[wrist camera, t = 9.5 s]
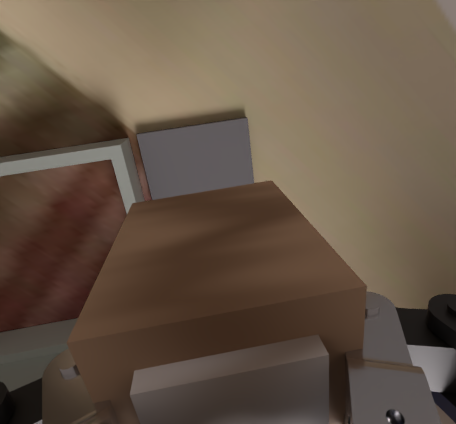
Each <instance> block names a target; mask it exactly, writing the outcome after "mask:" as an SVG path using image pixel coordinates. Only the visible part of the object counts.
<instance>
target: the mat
mask: <svg viewBox="0 0 456 424" xmlns="http://www.w3.org/2000/svg"><path fill="white" fill-rule="evenodd" d="M137 139H138V143H139V147H140V151H141V155H142V159H143V164H144V168H145V172H146V176H147V180H148V184H149V188H150V192H151V196H152V200H155V199H161V198H168V197H174V196H180V195H186V194H192V193H198V192H204V191H210V190H216V189H223V188H229V187H235V186H241V185H247V184H253V183H254V177H253V168H252V158H251V148H250V138H249V129H248V119H247V118H246V117H245V118H238V119H231V120H225V121H218V122H211V123H205V124H198V125H191V126H185V127H178V128H171V129H165V130H158V131H151V132H145V133H138V134H137Z"/></svg>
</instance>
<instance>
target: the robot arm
mask: <svg viewBox="0 0 456 424" xmlns="http://www.w3.org/2000/svg"><path fill="white" fill-rule="evenodd" d="M345 384H346V395H345V414H344V417H343V424H456V295H454V294H442V295H437V296H435V297H433V298H431V299H430V301H429V304H428V310H426V309H405V308H396V307H395V306H394V304H393V303H392V302H391V301H390V300H389V299H387V298H386V297H384V296H382V295H380V294H377V293H373V292H368V291H366V307H365V324H364V341H363V348H362V349H357V350H352V351H347V352H345ZM0 424H119V422H118V418H117V414H116V412H115V410H114V407H113V405H112V402H111V400H106V401H101V402H96V403H93V401H92V399H91V397H90V394H89V392H88V390H87V388H86V386H85V383H84V381H83V379H82V377H81V374H80V372H79V370H78V368H77V365H76V363H75V361H74V359H73V357H72V354H71V352H70V350H69V348H68V349H66V350H65V351H63V352H61V353H60V354H59V355H57V356H56V357H55V358H54V359H53V360H52V361H51V362H50V363H49V364H48V366H47V367H46V369H45V371H44V373H43V377H42V378H40V379H38V380H36V381H33V382H31V383H29V384H27V385H24V386H22V387H20V388H17V389H15V390H13V391H11V392H9V390H8V389H7V387H6V385H5V384H4V383H3V382H0Z"/></svg>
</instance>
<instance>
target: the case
mask: <svg viewBox="0 0 456 424" xmlns="http://www.w3.org/2000/svg"><path fill="white" fill-rule="evenodd" d="M109 159H111V160H112V164H113V167H114V171H115V174H116V178H117V181H118V185H119V188H120V192H121V195H122V199H123V202H124V206H125V210H126V213H128V211H129V209H130V207H131V205H132V203H137V202H143V201H145V200H144V196H143V192H142V188H141V184H140V180H139V176H138V172H137V168H136V164H135V160H134V156H133V152H132V149H131V145H130V141H129V138H124V139H117V140H111V141H104V142H97V143H91V144H84V145H78V146H71V147H64V148H58V149H51V150H44V151H38V152H31V153H25V154H18V155H11V156H5V157H0V176H5V175H12V174H18V173H25V172H31V171H37V170H44V169H50V168H57V167H63V166H70V165H76V164H83V163H89V162H96V161H102V160H109ZM77 319H78V318H76V319H70V320H65V321H59V322H54V323H49V324H43V325H38V326H32V327H27V328H22V329H16V330H11V331H5V332H0V382H3V383H4V384H5V385H6V387H7V389H8V390H9V392H11V391H13V390H15V389H17V388H20V387H22V386H24V385H27V384H29V383H31V382H33V381H36V380H38V379H40V378H42V377H43V373H44V371H45V369H46V367H47V366H48V364H49V363H50V362H51V361H52V360H53V359H54V358H55V357H56V356H57V355H59V354H60V353H61V352H63V351H65V350H66V349H68V345H67V341H68V338H69V336H70V334H71V332H72V330H73V328H74V326H75V324H76V321H77Z"/></svg>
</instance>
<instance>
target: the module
mask: <svg viewBox="0 0 456 424" xmlns="http://www.w3.org/2000/svg"><path fill="white" fill-rule="evenodd" d="M366 289H367V286H366V285H365V284H364V282H363V281H362V280H361V279H360V278H359V277H358V276H357V275H356V274H355V272H354V271H353V270H352V269H351V268H350V267H349V266H348V265H347V264H346V262H345V261H344V260H343V259H342V258H341V257H340V256H339V255H338V254H337V252H336V251H335V250H334V249H333V248H332V247H331V246H330V245H329V244H328V242H327V241H326V240H325V239H324V238H323V237H322V236H321V235H320V234H319V232H318V231H317V230H316V229H315V228H314V227H313V226H312V225H311V224H310V222H309V221H308V220H307V219H306V218H305V217H304V216H303V215H302V214H301V212H300V211H299V210H298V209H297V208H296V207H295V206H294V205H293V204H292V202H291V201H290V200H289V199H288V198H287V197H286V196H285V195H284V194H283V192H282V191H281V190H280V189H279V188H278V187H277V186H276V185H275V184H274V182H273V181H265V182H259V183H253V184H247V185H241V186H235V187H229V188H223V189H216V190H210V191H204V192H198V193H192V194H186V195H180V196H174V197H168V198H161V199H155V200H149V201H143V202H137V203H132V205H131V207H130V209H129V211H128V213H127V216H126V218H125V220H124V222H123V224H122V226H121V228H120V230H119V233H118V235H117V237H116V239H115V241H114V243H113V245H112V247H111V249H110V252H109V254H108V256H107V258H106V260H105V262H104V264H103V266H102V269H101V271H100V273H99V275H98V277H97V279H96V281H95V283H94V285H93V288H92V290H91V292H90V294H89V296H88V298H87V300H86V302H85V305H84V307H83V309H82V311H81V313H80V315H79V317H78V319H77V321H76V324H75V326H74V328H73V330H72V332H71V334H70V336H69V338H68V341H67V345H68V348H69V350H70V352H71V354H72V357H73V359H74V361H75V363H76V365H77V368H78V370H79V372H80V374H81V377H82V379H83V381H84V383H85V386H86V388H87V390H88V392H89V394H90V397H91V399H92V401H93V403H96V402H101V401H106V400H111V402H112V405H113V407H114V410H115V412H116V414H117V418H118V422H119V424H343V417H344V414H345V395H346V384H345V352H347V351H352V350H357V349H362V348H363V341H364V324H365V307H366Z"/></svg>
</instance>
